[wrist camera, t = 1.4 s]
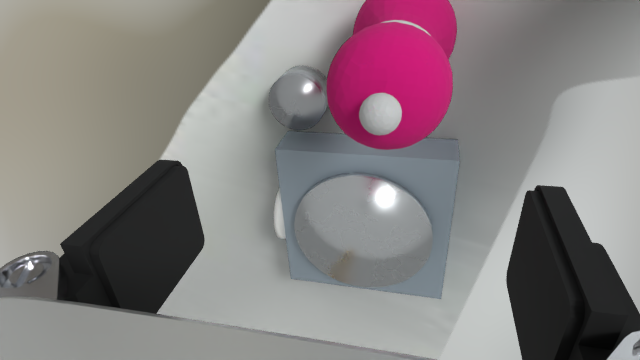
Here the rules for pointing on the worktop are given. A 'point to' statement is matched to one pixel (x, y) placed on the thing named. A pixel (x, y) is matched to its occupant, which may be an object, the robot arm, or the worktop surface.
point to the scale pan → (364, 230)
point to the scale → (396, 164)
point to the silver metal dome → (299, 97)
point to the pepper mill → (394, 72)
